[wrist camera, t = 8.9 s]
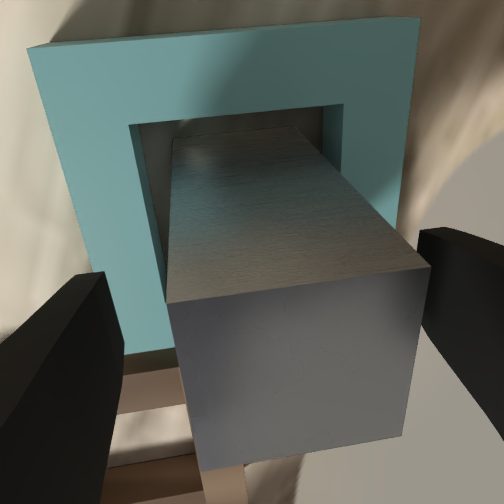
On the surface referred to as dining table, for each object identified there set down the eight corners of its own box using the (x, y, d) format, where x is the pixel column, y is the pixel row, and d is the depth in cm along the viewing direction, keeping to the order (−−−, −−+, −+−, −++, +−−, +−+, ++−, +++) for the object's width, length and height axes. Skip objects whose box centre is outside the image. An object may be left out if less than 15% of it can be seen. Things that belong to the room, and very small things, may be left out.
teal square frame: (365, 286, 18) (384, 315, 16) (124, 320, 17) (118, 355, 15) (388, 16, 13) (421, 17, 11) (48, 42, 12) (26, 48, 10)
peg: (295, 232, 16) (401, 436, 8) (190, 245, 16) (200, 471, 8) (293, 125, 14) (431, 266, 6) (173, 138, 14) (165, 303, 6)
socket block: (243, 469, 23) (248, 506, 21) (51, 503, 22) (40, 545, 20) (226, 325, 18) (231, 359, 16) (-24, 361, 17) (-47, 401, 15)
